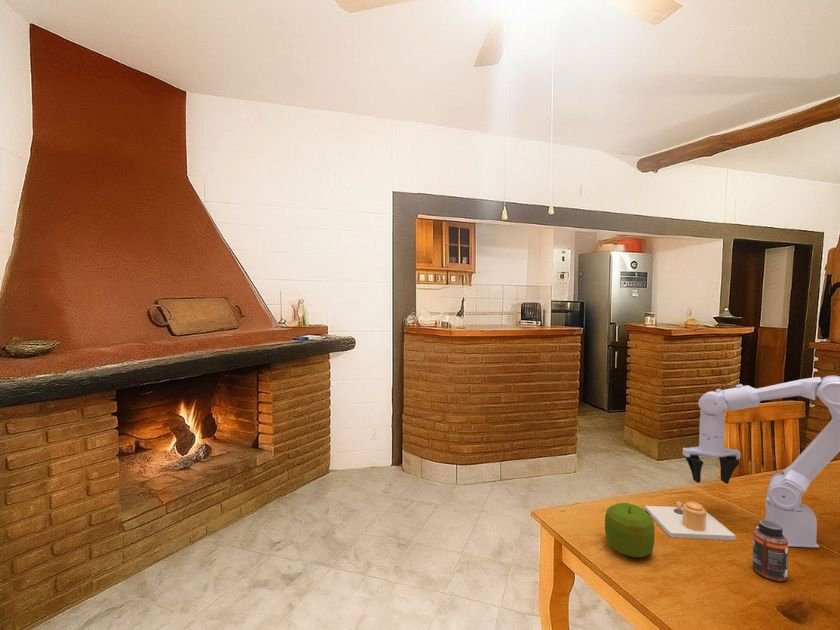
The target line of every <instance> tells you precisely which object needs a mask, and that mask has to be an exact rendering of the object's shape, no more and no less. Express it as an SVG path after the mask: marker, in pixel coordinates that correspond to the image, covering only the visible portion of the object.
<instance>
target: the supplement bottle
mask: <svg viewBox="0 0 840 630" xmlns="http://www.w3.org/2000/svg"><path fill="white" fill-rule="evenodd" d="M758 527H759V528H757V529H756V528H755V529H754V530H753V531H752V533H753V535H752V536H753V537H752V568H753V570H754V571H755V572H756V573H757V574H759V576H762V577H763V578H765V579H768V580H771V581H775V582H785V581H786V580H788V574H789V573H788V568H789V567H788V566H789V562H788V560H789V559H788V558H789V546H788V541H787V539H786V537H785V536H784V535H783V534H782V533H783V532H782V526H781V525H779V524H777V523H775V522H772V521H768V520H765V519H761V520H759V521H758Z"/></svg>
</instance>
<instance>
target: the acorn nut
mask: <svg viewBox="0 0 840 630" xmlns="http://www.w3.org/2000/svg"><path fill="white" fill-rule="evenodd" d="M682 505H683V520H682V524H683V525H684V526H685V527H686V528H689V529H692V530H694V531H704V530H705V529H706V512H707V510H706V509H705V507H703V504H700V503H698V502H696V501H692V500H691V501H687V502H685V503H684V504H682Z"/></svg>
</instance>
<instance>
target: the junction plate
mask: <svg viewBox="0 0 840 630" xmlns="http://www.w3.org/2000/svg"><path fill="white" fill-rule="evenodd" d="M682 505H683V503H682V501H680V500H677V501H676V506H661V505H659V506H658V505H644V510H646V511H647V512H648V513H649V514H650V517H651V518H652V519H653V521H654V522H655V523H656V522H657V523H658V524H659V525H660V526H659V525H658V524H657V523H656V524H657V525H658V526H659V527H660V528H661V529H662V530H663V531H664V532H665V533H666V534H667V535H668V537H669V536H670V537H671V538H674V537H677V538H676V539H692V538H693V539H696V540H698V539H699V540H717V541H718V540H719V539H720V540H719V541H736V540H737V536H736V534H734V533H733V532H732V531H730V530H729V528H727V527H726V526H724V525H723V524H722V523H721V522H719V520H718V519H717V518H715V517H714V516H713V515H711V514H710V513H708V512H707V511H706V529H705V530H704V531H694V530H692V529H689V528H686V527H685V526H684V525H683V524H682V520H683V507H682ZM670 537H669V538H670ZM674 539H675V538H674Z"/></svg>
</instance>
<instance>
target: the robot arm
mask: <svg viewBox="0 0 840 630" xmlns="http://www.w3.org/2000/svg"><path fill="white" fill-rule="evenodd" d="M791 397H803V398H806V399H809V400H812V401H815V400H816V397H818V398H819V400H820V401H821V402H822V403H823V404H824V405H825V406H826V407H827V409H828V411H829V413H830V415H831V418H832V419H831V420H830V421H829V422H828V423H827V424H826V425H825V427H823V428H822V430H821V431H820V432H819V433H818V434H817V435H816V437H814V439H813V440H812V441H811V442H810V443H809V444H808V445H807V446H806V447H805V449H803V451H802V452H801V453H800V454H799V455H798V457H796V459H795V460H794V461H793V462H792V463H790V465H788V466H787V467H785V469H783V471H781V472H778V473H775V474H773V475H772V476H770V478H769V485H768V486H769V487H768V488H767V491H766V494H767V496H766V497H765V519H764V520H768V521H772V522H775V523H777V524H779V525H781V526H782V532H783V533H782V534H783V535H784V536H785V537H786V539H787V541H788V547H795V548H820V545H819V544H817V536H818V535H817V533H818V532H817V531H818V530H817V529H818V528H817V527H818V519H817V517H816V514H815V513H814V511H813V509H811V507H809V506H808V505H806V504H802V496H803V495H804V493H805V492H806V491H807V490H808V488H809V486H810V485H811V482H813V480H814V479H815V478H816V477H817V476H818V475H819V474H820V473H821V472H822V471H823V469H825V467H826V466H827V465H828V464H830V462H831V461H832V460H833V459H834V458H835V457H836V456H837V455H838V454H839V453H840V376H838V375H827V376H824V377H822V378H821V376H815V377H809V378H802V379H797V380H792V381H791V380H790V381H788V382H787V381H786V382H782V383H777V384H773V385H768V386H764V387H758V388H755V387H752V386H751V385H747V384H746V385H743V384H742V383H740V384H736V385H735V387H732V388H727V389H726V388H725V389H721V388H716V389H715V390H714V391H706V392H705V393H704V394H703V395H702V396H701V397H700V398H699V399H698V407H699V409H700V411H699V414H700V416H699V433H698V434H699V435H698V436H699V437H698V440H699V441H698V443H699V444H698V446H692V447H682V455H683V456H684V458H685V460H686V462H687V464H688V466H689V469H690V471H691V474H692V480H693V481H695V482H696V483H698V484H700V483H701V478H702V477H701V476H702V475H701V473H702V467H703V464H704V461H703V460H702V459H700V457H702V458H703V457H706V458H707V457H708V458H709V457H711V458H718V460H719V464H720V465H719V466H720V481H721V482H722V483H724V484H729V483H730V480H731V477H732V475H733V473H734V471H735V470H736V468H737V467H739V465H740V459H741V450H740V451H739V449H736V448H735V449H733V448H725V423H726V422H725V411H727V412H728V411H729V412H731V411H737V410H738V411H739V410H744V409H748V408H756V407H758V405H759V404H760V403H761V401H768V400H769V401H770V400H775V399H784V398H791ZM757 528H759V526H756V528H755V529H757Z"/></svg>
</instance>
